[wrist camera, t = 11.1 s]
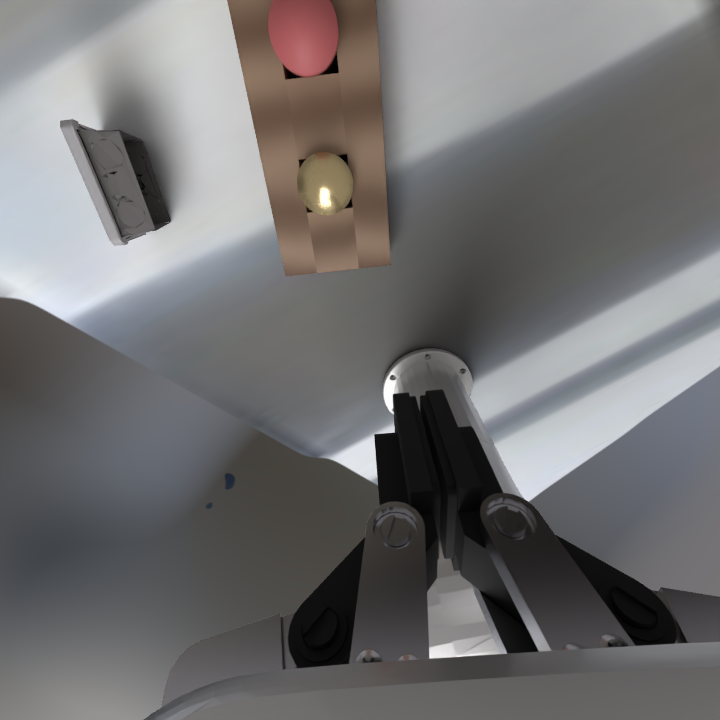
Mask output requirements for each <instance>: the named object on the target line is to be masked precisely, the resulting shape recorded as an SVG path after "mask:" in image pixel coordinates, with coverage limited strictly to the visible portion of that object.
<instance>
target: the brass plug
mask: <svg viewBox="0 0 720 720" xmlns="http://www.w3.org/2000/svg"><path fill="white" fill-rule="evenodd" d="M297 188H298V192H299V195H300V197H301V199H302V201H303V203H304V204H305V205H306V206H307V207H308V208H309V209H310V210H311V211H313V212H315V213H317V214H320V215H333V214H336V213H338V212H340V211H341V210H343V209H344V208H345V207H346V206H347V204H348V203H349V201H350V199H351V196H352V193H353V177H352V173H351V171H350V169H349V167H348V165H347V164H346V163H345V162H344V161H343V160H342V159H341V158H340V157H339V156H337V155H335V154H333V153H329V152H319V153H315V154H313V155H311V156H309V157H308V158H307V159H306V160H305V161H304V162H303V164H302V165H301V167H300V169H299V172H298V176H297Z"/></svg>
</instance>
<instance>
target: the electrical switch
mask: <svg viewBox="0 0 720 720" xmlns="http://www.w3.org/2000/svg"><path fill="white" fill-rule="evenodd" d="M60 128H61V130H62V132H63V135H64V137H65V139H66V141H67V144H68V146H69V148H70V151H71V153H72V155H73V157H74V160H75V162H76V164H77V167H78V169H79V171H80V173H81V176H82V178H83V180H84V183H85V185H86V187H87V189H88V192H89V194H90V196H91V199H92V201H93V203H94V205H95V208H96V210H97V212H98V215H99V217H100V219H101V222H102V224H103V226H104V228H105V231H106V233H107V235H108V238H109V240H110V241H111V242H112V244H113V245H115V246H116V245H126V244H128V242H127V241H129V240H132V239H135V238H137V237H140V236H142V235H146V232H149V231H155V230H158V229H159V228H161V227H163V226H165V225H167V224H169V223H171V222H170V219H169V216H168V213H167V210H166V207H165V204H164V202H163V199H162V196H161V193H160V190H159V187H158V184H157V181H156V178H155V176H154V173H153V170H152V167H151V164H150V161H149V158H148V155H147V152H146V150H145V147H144V144H143V141H141V139H138V138H136V137H134V136H132V135H129V134H127V133H125V132H122V131H120V130H114V131H103V130H98V131H97V130H94V129H91V128H89V127H86V126H83V125H80V124H78V121H75V120H73V119H71V120H64V121H60ZM131 141H133V142H131ZM119 147H120V148H119ZM129 151H131V152H129ZM144 159H145V160H144ZM146 169H147V171H146ZM135 174H138V175H142V174H143V175H142V176H136V175H135ZM138 181H142V182H143V184H144V186H145V188H144V189H143V190H141V189H140V186H139V183H138ZM147 193H148V194H147ZM143 194H147V195H144V196H143ZM149 194H150V195H149ZM158 200H159V201H158ZM156 214H157V215H156ZM165 222H169V223H165Z"/></svg>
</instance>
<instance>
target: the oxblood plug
mask: <svg viewBox="0 0 720 720" xmlns="http://www.w3.org/2000/svg"><path fill="white" fill-rule="evenodd" d="M268 29H269V36H270V40H271V43H272V46H273V48H274V51H275V53H276V54H277V56H278V58H279V59H280V61H281V62H282V63H283V65H284V66H285V67H286V68H287V69H288V70H289V71H291V72H292V73H294V74H296V75H298V76H301V77H306V78H308V77H315V76H318V75H326V74H328V73H329V71H330V69H331V67H332V63H333V59H334V57H335V55H336V52H337V48H338V40H339V33H338V23H337V17H336V13H335V10H334V8H333V5H332V3H331V1H330V0H273V1H272V4H271V7H270V11H269V18H268Z"/></svg>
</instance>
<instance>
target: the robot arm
mask: <svg viewBox="0 0 720 720" xmlns="http://www.w3.org/2000/svg"><path fill="white" fill-rule="evenodd" d="M426 354H427V355H426ZM472 387H473V384H472V377H471V373H470V371H469V369H468V367H467V366H466V364H465V363H464V362H463V360H461V359H460V358H459V357H458V356H457V355H455V354H453V353H451V352H449V351H446V350H443V349H435V348H428V349H420V350H416V351H413V352H411V353H408V354H406V355H404V356H403V357H401V358H400V359H398V360H397V361H396V362H395V363H394V364H393V365H392V366H391V367H390V369H389V370H388V372H387V374H386V376H385V378H384V381H383V391H382V392H383V398H384V401H385V405H386V406H387V408H388V410H389V411H390V412H391V413H392V414H393V415H394V425H395V433H386V434H374V436H375V449H376V462H377V475H378V488H379V501H380V506H378V507H377V508H376V509H374V510H373V512H372V513H371V515H370V516H369V519H368V522H367V526H366V534H365V538H364V539H363V540H362V541H361V542H360V543H359V544H358V545H357V546H356V547H355V548H354V549H353V551H352V552H351V553H350V554H349V555H348V556H347V557H346V558H345V559H344V560H343V561H342V562H341V563H340V564H339V565H338V567H336V568H335V570H334V571H333V572H332V573H331V574H330V575H329V576H328V577H327V578H326V579H325V580H324V581H323V582H322V583H321V584H320V586H319V587H318V588H317V589H316V590H315V591H314V592H313V593H312V594H311V595H310V596H309V597H308V598H307V599H306V600H305V601H304V602H303V603H302V605H301V606H300V607H299V609H298V610H297V612H294V613H292V614H289V615H286V616H283V617H281V614H277V615H274V616H271V617H268V618H265V619H262V620H259V621H256V622H253V623H250V624H247V625H244V626H241V627H239V628H236V629H233V630H230V631H227V632H224V633H221V634H218V635H215V636H212V637H209V638H207V639H204V640H201V641H199V642H197V643H195V644H193V645H192V646H190V647H189V648H188V649H187V650H186V651H185V652H184V653H183V654H182V655H181V656H180V657H179V658H178V659H177V661H176V663H175V664H174V666H173V667H172V669H171V671H170V673H169V676H168V680H167V682H166V686H165V691H164V696H163V702H162V707H161V708H160V709H158V710H156V711H155V712H153V713H152V714H150V715H149V716H148V717H147V718H145V719H144V720H720V597H718V596H712V595H705V594H699V593H693V592H687V591H680V590H675V589H669V588H663V587H660V589H659V590H658V591H654V590H650V589H648V588H647V587H645V586H644V585H643V584H641V583H639V582H638V581H636V580H635V579H633V578H631V577H629V576H628V575H626V574H624V573H622V572H620V571H619V570H617V569H615V568H613V567H612V566H610V565H608V564H606V563H604V562H603V561H601V560H599V559H597V558H596V557H594V556H592V555H590V554H589V553H587V552H585V551H583V550H581V549H580V548H578V547H576V546H574V545H573V544H571V543H569V542H567V541H566V540H564V539H562V538H560V537H558V536H557V535H555V534H554V532H553V531H552V530H551V528H550V527H549V525H548V524H547V523H546V521H545V520H544V519H543V517H542V516H541V514H540V513H539V511H538V510H537V509H536V508H535V507H534V506H533V505H532V504H531V503H529V502H528V501H526V500H525V499H524V498H523V497H522V495H521V494H520V492H519V490H518V489H517V487H516V485H515V483H514V482H513V480H512V478H511V476H510V474H509V473H508V471H507V469H506V467H505V465H504V463H503V461H502V459H501V457H500V455H499V453H498V451H497V449H496V447H495V445H494V443H493V441H492V439H491V437H490V436H489V434H488V432H487V430H486V428H485V426H484V424H483V422H482V420H481V418H480V416H479V414H478V412H477V410H476V408H475V406H474V404H473V402H472V400H471V398H470V395H471V392H472Z"/></svg>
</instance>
